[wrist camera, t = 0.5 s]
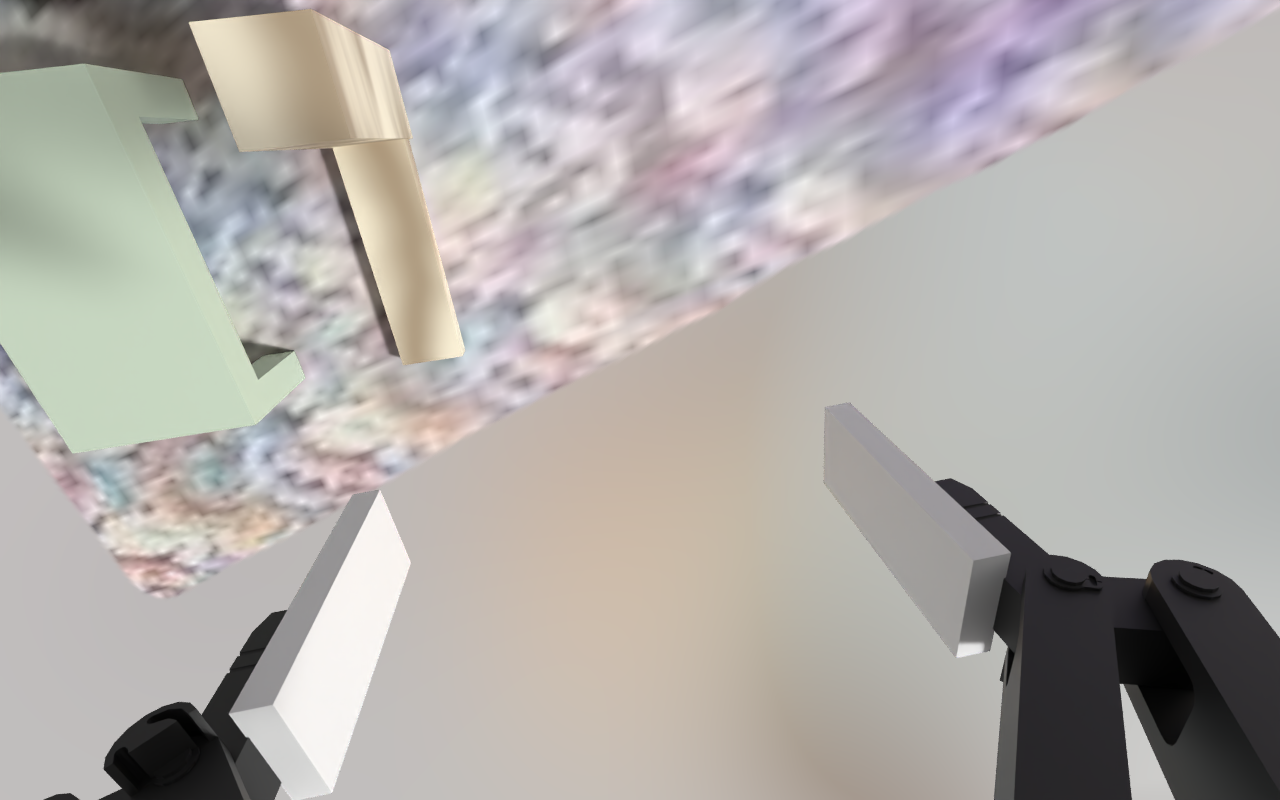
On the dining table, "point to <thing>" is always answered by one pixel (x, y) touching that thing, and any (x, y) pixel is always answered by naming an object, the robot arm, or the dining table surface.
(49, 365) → the footstool
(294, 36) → the pusher
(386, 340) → the dining table surface
